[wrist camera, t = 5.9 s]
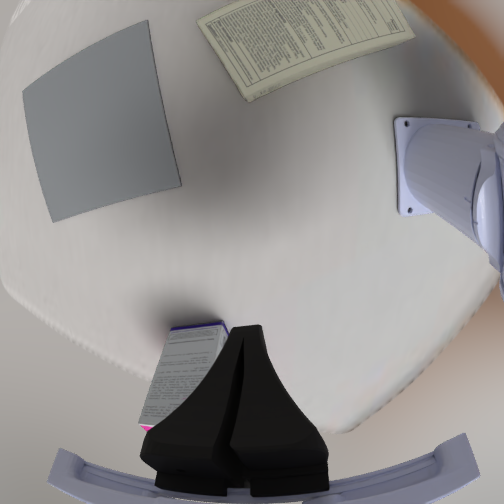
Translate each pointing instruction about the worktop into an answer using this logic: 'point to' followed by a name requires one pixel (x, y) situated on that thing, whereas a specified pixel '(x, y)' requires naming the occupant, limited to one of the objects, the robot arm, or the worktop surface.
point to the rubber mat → (100, 126)
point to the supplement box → (181, 368)
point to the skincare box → (298, 38)
